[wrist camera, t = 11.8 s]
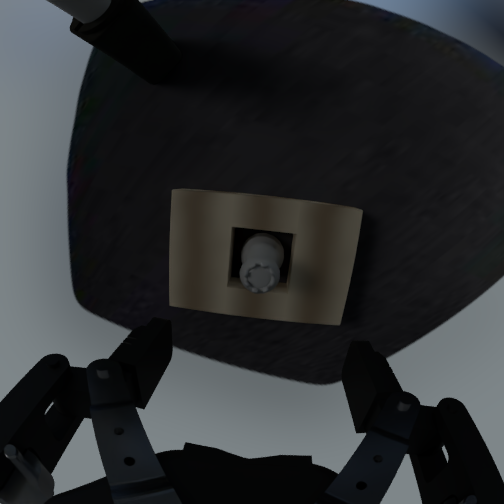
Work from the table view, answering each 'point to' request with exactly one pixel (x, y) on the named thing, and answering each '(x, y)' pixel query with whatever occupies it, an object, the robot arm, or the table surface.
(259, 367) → the table surface
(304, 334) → the table surface
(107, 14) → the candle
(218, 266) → the socket board
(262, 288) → the rook chess piece
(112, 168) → the table surface
